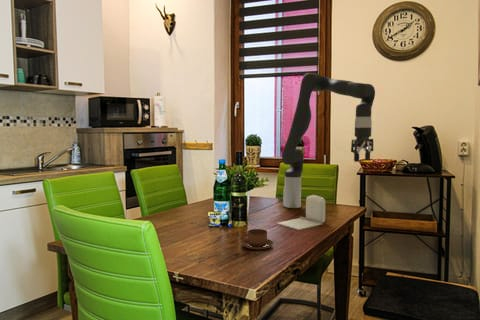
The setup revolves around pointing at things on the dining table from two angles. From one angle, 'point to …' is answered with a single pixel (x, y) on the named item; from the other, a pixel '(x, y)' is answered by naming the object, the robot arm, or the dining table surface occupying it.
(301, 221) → the pad
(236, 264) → the dining table surface
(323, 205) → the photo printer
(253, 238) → the cup and saucer
